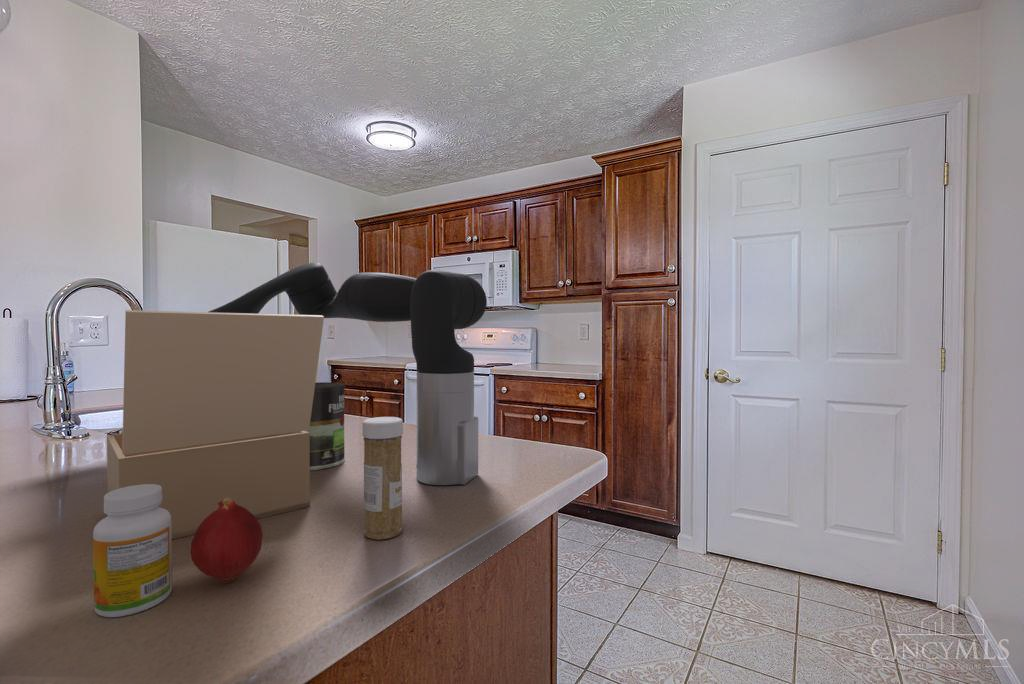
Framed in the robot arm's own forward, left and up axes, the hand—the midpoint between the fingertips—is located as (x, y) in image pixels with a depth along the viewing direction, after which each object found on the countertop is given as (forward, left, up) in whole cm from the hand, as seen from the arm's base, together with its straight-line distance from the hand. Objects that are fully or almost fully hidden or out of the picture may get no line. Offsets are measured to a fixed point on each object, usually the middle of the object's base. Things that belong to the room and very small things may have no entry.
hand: (192, 356), depth 72 cm
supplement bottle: (-22, +24, -20) cm, 39 cm away
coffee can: (-7, -18, -20) cm, 28 cm away
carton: (-9, +5, -20) cm, 23 cm away
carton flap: (-19, +11, -2) cm, 21 cm away
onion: (-27, +19, -20) cm, 39 cm away
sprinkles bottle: (-35, +5, -20) cm, 41 cm away
